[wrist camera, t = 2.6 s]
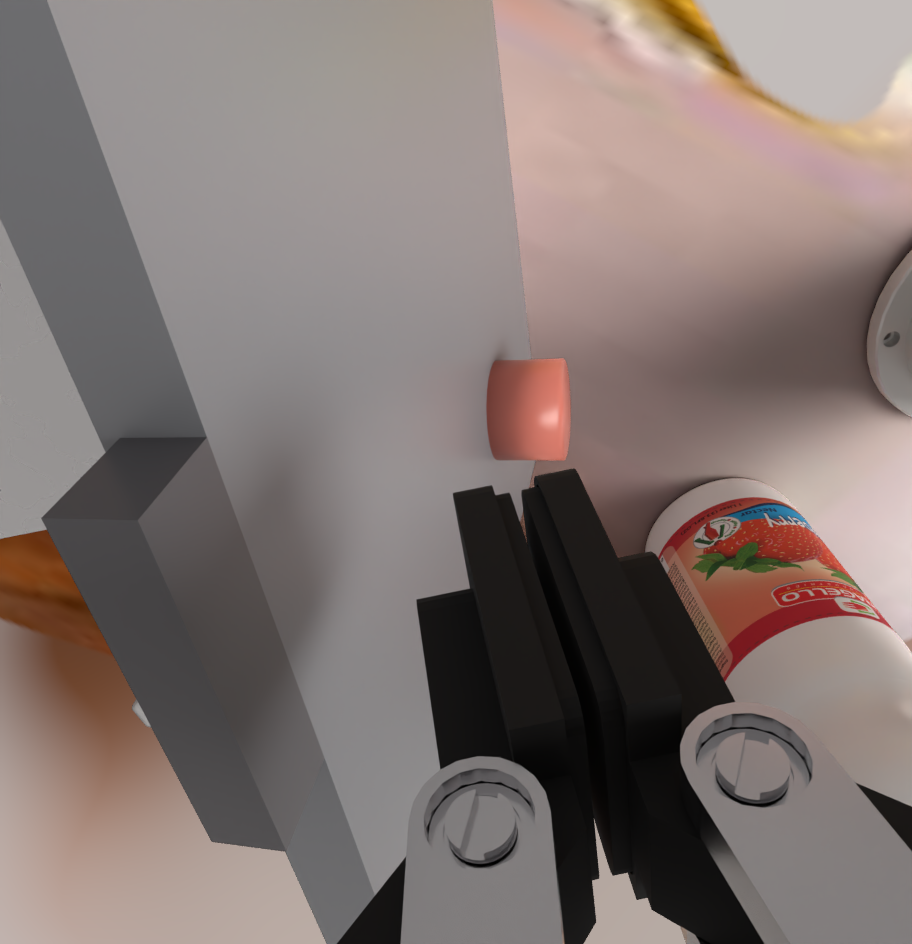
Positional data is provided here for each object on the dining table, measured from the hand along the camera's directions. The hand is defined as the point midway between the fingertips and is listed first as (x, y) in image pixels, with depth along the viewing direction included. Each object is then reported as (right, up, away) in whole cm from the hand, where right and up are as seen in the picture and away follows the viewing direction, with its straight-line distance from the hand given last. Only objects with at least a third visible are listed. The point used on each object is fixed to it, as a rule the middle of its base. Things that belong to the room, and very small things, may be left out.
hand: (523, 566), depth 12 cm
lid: (-3, +5, +8) cm, 9 cm away
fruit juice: (+15, -3, +40) cm, 42 cm away
